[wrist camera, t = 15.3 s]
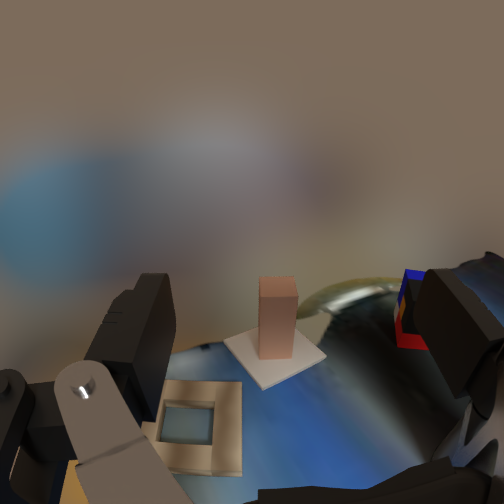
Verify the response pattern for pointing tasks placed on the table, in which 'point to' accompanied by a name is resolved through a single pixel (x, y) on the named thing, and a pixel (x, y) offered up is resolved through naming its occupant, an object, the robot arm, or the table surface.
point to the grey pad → (272, 369)
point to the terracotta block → (277, 317)
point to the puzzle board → (224, 428)
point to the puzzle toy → (408, 311)
